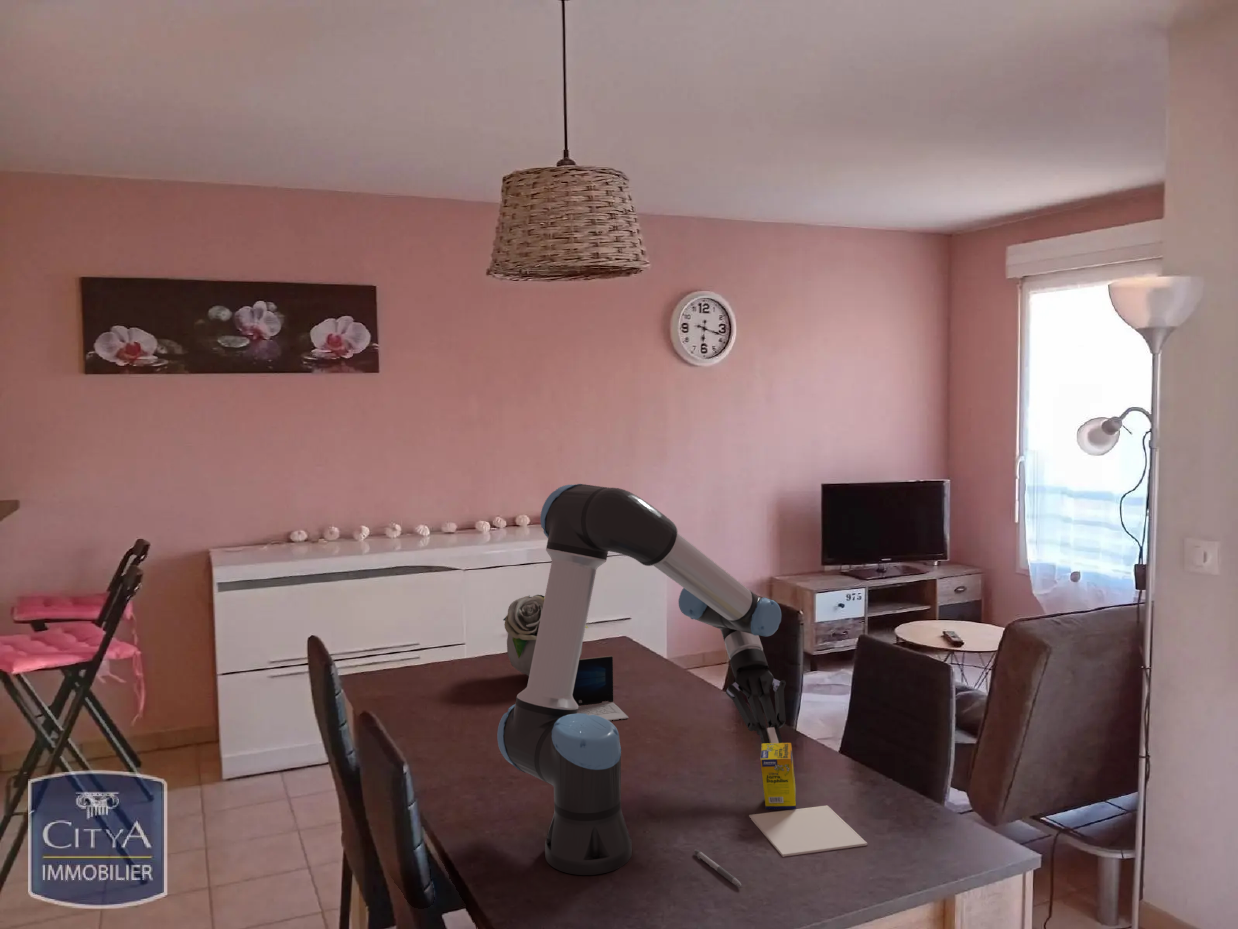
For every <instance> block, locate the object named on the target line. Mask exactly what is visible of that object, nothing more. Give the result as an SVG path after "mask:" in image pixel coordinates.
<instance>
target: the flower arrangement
mask: <svg viewBox="0 0 1238 929" xmlns="http://www.w3.org/2000/svg"><path fill="white" fill-rule="evenodd" d="M544 598H545V595H543V594H535V595H533V596H531V595H530V594H528V595H527V596H522V597H519V598H517V599H515V600H514V601H512V602H511V603H510V604H509V606H508V609H507V614H506V615H505V617H504V618H503V619H502V620H503V621H504V629H505V631H506V633H507V637H506V638H507V639H506V650H507V656H508V659H509V662H510V664H511V666H512V667H513V668H515V670H517V671H518V672H519V673H522V674H524V675H526V676H528V677H529V674H530V669H531V664H532V659H533V654H534V649H535V644H536V639H537V634H538V629H539V624H540V619H541V614H542V609H543V604H544ZM585 629H589V627H588V625H586V627H585ZM582 653H583V647H582V648H581V653H580V658H579V659H581V656H582Z"/></svg>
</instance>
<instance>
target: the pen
mask: <svg viewBox="0 0 1238 929" xmlns="http://www.w3.org/2000/svg"><path fill="white" fill-rule="evenodd" d="M693 851H694V854H695V855H696V858H697V859H698V860H699V861H700V860H702V861H703V862H704V863H706V864H707V865H709V867H710V868H712V869H713V870H715V871H716V872H717V873H719V875H721V876H722V877H724V878H725V879H726V880H727V881H729V882H730V883H732V884H733V885H735V886H737V887H742V883H741V881H739V879H737V877H736V876H734V875H732V874H731V873H730V872H729V871H728V870H726V869H725V868H723V867H722V866H721V865H719V864H718V863H717V862H715V861H714V860H712V859H711V858H710V857H709V856H707V855H706V854H705V853H703V852H702V851H701V850H699V849H694V850H693Z"/></svg>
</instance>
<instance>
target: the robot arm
mask: <svg viewBox="0 0 1238 929" xmlns="http://www.w3.org/2000/svg"><path fill="white" fill-rule="evenodd" d="M539 519H540V526H541V528H542V530H543V531H542V532H543V534H544V536H546V538H547V543H546V547H545V551H546V552H547V554H548V555H549V557H550V559H551V564H550V569H549V573H548V580H547V585H546V588H545V594H544V596H545V598H544V604H543V609H542V614H541V619H540V624H539V629H538V634H537V639H536V644H535V649H534V654H533V659H532V664H531V669H530V674H529V676H528V681H527V685H526V687H525V688H524V689H523V690H522V691H520V692H519V693H518V694H517V695H516V699H515V704H513V705H510V707H508V709H507V712H504V713H503V715H502V717H501V718H500V721H499V723H498V727H497V735H496V736H497V737H496V738H497V739H496V740H497V745H498V749H499V751H500V753H501V755H502V757H503V758H504V759H505V760H506V762H508V763H509V764H511V765H512V766H513V767H514V768H516V769H517V770H519V771H521V772H522V773H526V774H528V775H531V776H533V777H535V778H536V779H539V780H540V781H543V782H545V783H547V784H549V785H551V786H552V787H553V802H554V803H553V804H554V809H553V810H554V813H553V816H552V820H551V822H550V825H549V828H548V832H547V836H546V838H545V843H544V856H545V860H546V862H547V863H548V865H550V866H551V867H552V868H554V869H556V870H557V871H559V872H563V873H565V874H570V875H577V876H596V875H602V874H605V873H606V874H607V873H610V872H613V871H616V870H619V869H620V868H622V867H623V866H625V865H626V864H627V863H628V862H629V861H630V859H631V857H632V854H633V853H632V852H633V851H632V847H633V846H632V838H631V835H630V834H629V830H628V827H627V824H626V820H625V817H624V815H623V812H622V800H621V798H622V797H621V796H622V794H621V793H622V790H621V789H622V788H621V787H622V786H621V785H622V775H621V774H622V770H621V769H622V768H621V766H622V764H621V763H622V762H621V761H622V753H621V752H622V748H621V743H620V742H621V741H620V733H619V731H618V729H617V727H616V726H615V725H614V723H612V721H608V720H607V719H605V718H603V717H600V716H597V715H587V714H584V713H577V712H578V705H577V703H576V701H575V700H574V698H573V695H572V694H573V689H574V684H575V679H576V674H577V668H578V663H579V658H580V659H581V656H580V653H581V648H582V649H583V642H584V641H583V640H584V636H585V633H586V632H585V631H586V626H587V621H588V615H589V611H590V610H589V609H590V605H591V601H592V595H593V589H594V585H595V579H596V575H597V570H598V569H599V567H601V566H602V565H604V564H605V563H606V562H607V559H608V555H609V552H611V553H616V554H620V555H624V556H626V557H630V558H632V559H634V560H636V561H637V562H639V564H641V565H643V566H646V567H652V566H653V567H655V568H656V569H658V571H660V572H661V573H663V574H664V575H666V576H667V577H668V578H670V579H671V580H672V581H674V582H675V583H677V584H678V585H679V586H680V587H682V590H681V591H680V593H679V597H678V608H679V610H680V612H681V614H682V615H684V616H686V617H688V618H690V619H691V620H695V621H698V622H700V623H703V624H705V625H709V626H712V627H713V628H717V629H719V630H720V632H721V635H722V638H723V642H724V645H725V650H726V653H727V656H728V658H729V660H730V661H729V663H730V667H731V671H732V674H733V676H734V679H733V683H732V684H729V685H728V687H727V689H726V691H725V694H726V695H727V696H728V697H729V698H730V699H731V700H732V702H733V703H734V705H735V707H736V708H737V711H738V713H739V716H741V718H742V720H743V723H745V725H746V727H747V729H748V731H750V732H756V734H757V735H758V736H759V738H760V741H761V744H762V743H783V738H782V736H781V735H782V734H781V733H780V732H781V731H780V729H782V728H783V727H784V725H785V723H786V721H787V719H786V706H785V704H786V703H785V691H784V690H785V687H786V685H787V683H786V680H785V679H782V680H779V679H776V678H774V675H773V674H772V672H771V671H770V669H769V665H768V664H769V663H768V661H767V658H766V654H765V652H764V648H763V647H764V646H763V644H762V642H761V639H760V636H762V637H770V636H773V635H774V634H775V633H776V632H777V630H778V629H779V626H780V624H781V622H782V610H781V607H780V605H779V603H777V601H775V600H773V599H770V598H768V597H761V596H759V595H757V594H755V593H754V592H753V591H752V590H750V589H749V588H748V587H746V586H745V585H744V584H742V583H741V582H740V581H739V580H737V579H736V578H735V577H734V576H732V575H731V574H730V573H728V572H727V571H726V570H725V569H724V568H722V567H721V566H720V565H718V564H717V563H716V562H715V561H714V560H713V559H711V558H710V557H708V556H707V555H706V554H705V553H704V552H702V551H701V550H700V549H698V547H696V546H695V545H694V544H692V543H691V542H690V541H689V540H687V539H686V538H685V537H683V536H682V535H681V534H680V533H679V531H678V527H677V525H676V524H675V523H674V522H673V520H671V519H670V518H668V517H667V516H666V515H665V514H663V513H662V512H661V511H659V509H657V508H656V507H654V506H653V505H652V504H650V503H649V502H647V501H646V500H644V499H643V498H641V497H640V496H638V495H637V494H634V493H632V492H630V491H628V490H626V489H624V488H623V489H622V488H619V487H606V486H599V485H591V484H586V483H585V484H584V483H577V484H575V483H574V484H566V485H562V486H560V487H558V488H556V489H555V490H554V491H552V492H551V493H550V494H549V495H548V496H547V498H546V499H545V501H544V503H543V506H542V507H541V512H540V518H539ZM581 654H582V653H581ZM771 687H772V688H773V691H774V700H775V701H774V703H775V709H774V706H773V703H772V700H771V692H770V689H771ZM740 691H741V692H742V693H741V692H740ZM743 694H744V695H745V697H746V699H747V702H748V704H749V705H750V708H749V706H748V704H747V702H746V700H745V698H744V696H743ZM764 716H765V717H764ZM766 722H767V723H766ZM767 726H768V727H767Z"/></svg>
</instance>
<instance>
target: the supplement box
mask: <svg viewBox="0 0 1238 929" xmlns="http://www.w3.org/2000/svg"><path fill="white" fill-rule="evenodd" d="M760 748H761V749H760V757H759V758H760V759H759V761H760V770H761V777H762V788H763V796H764V805H765V806H764V807H765V810H794V809H797V804H796V801H797V800H796V795H797V786H796V779H795V770H794V757H793V747H792V742H782V743H762V742H761V745H760Z"/></svg>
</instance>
